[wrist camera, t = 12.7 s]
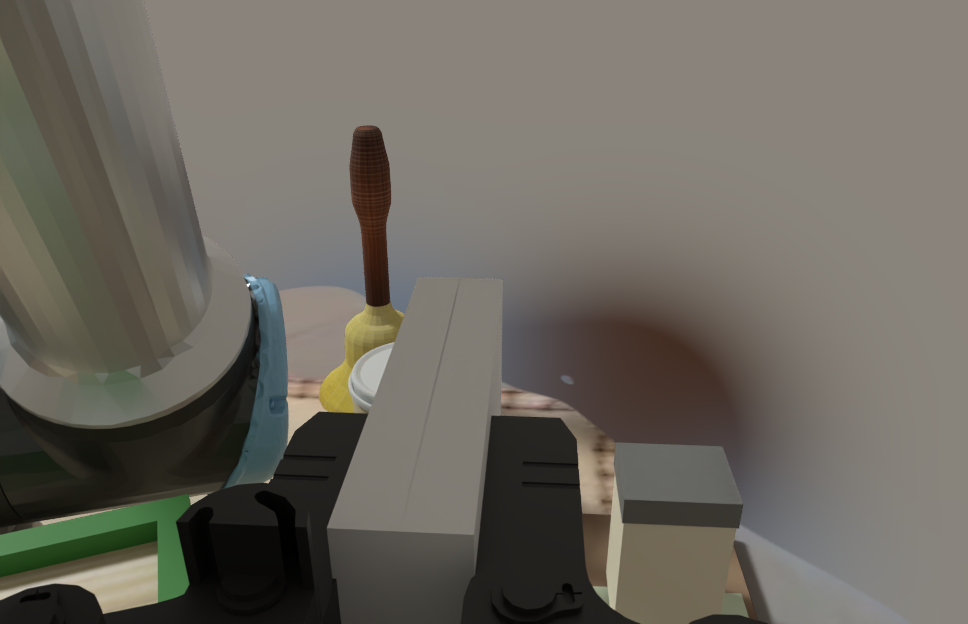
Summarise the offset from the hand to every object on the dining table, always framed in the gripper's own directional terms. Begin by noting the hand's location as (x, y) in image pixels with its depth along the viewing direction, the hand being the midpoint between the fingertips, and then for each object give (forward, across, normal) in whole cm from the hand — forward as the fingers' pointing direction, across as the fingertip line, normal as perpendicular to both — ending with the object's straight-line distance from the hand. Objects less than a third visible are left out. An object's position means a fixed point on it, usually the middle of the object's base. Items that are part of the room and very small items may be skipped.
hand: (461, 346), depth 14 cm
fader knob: (+23, +10, -30) cm, 39 cm away
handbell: (+51, -12, -32) cm, 61 cm away
